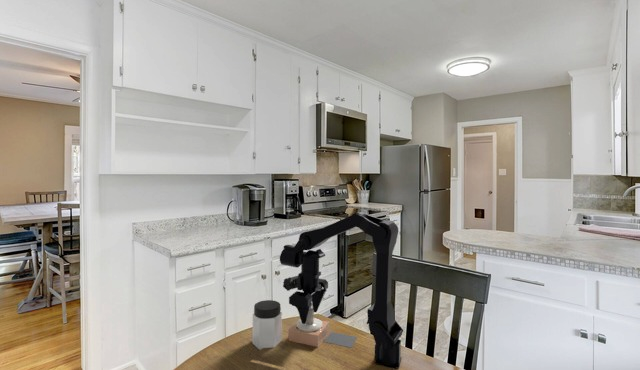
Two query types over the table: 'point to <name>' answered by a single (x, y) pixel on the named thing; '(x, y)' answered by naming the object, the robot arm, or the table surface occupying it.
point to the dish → (309, 335)
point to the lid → (310, 323)
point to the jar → (267, 324)
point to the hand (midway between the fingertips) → (309, 317)
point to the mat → (341, 339)
